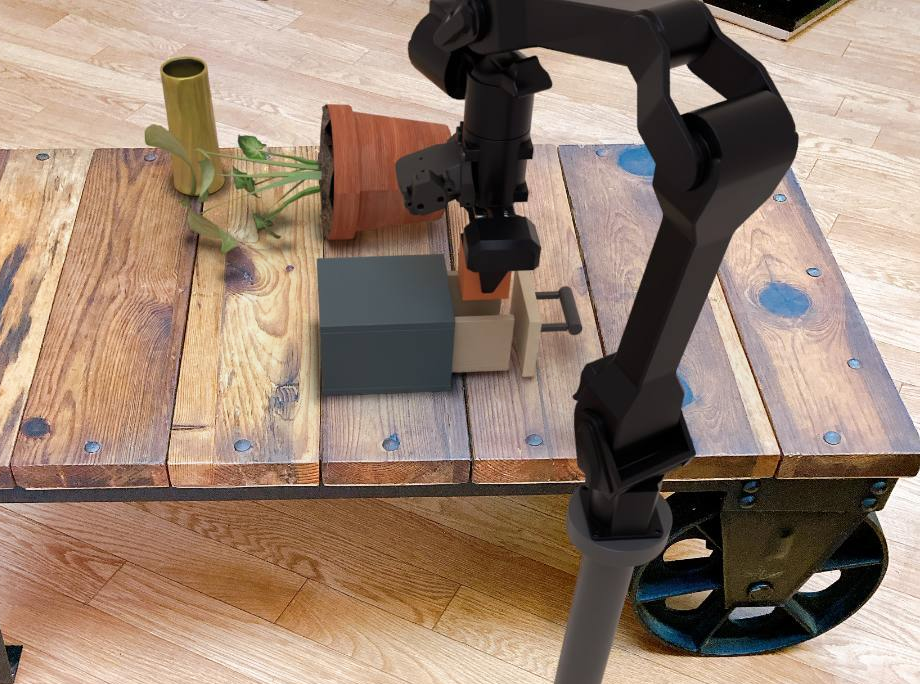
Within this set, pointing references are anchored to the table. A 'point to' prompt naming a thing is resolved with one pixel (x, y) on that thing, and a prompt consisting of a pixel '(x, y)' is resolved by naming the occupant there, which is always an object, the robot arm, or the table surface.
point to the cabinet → (385, 324)
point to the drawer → (505, 326)
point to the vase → (191, 120)
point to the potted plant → (326, 172)
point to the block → (478, 282)
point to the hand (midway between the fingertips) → (484, 276)
